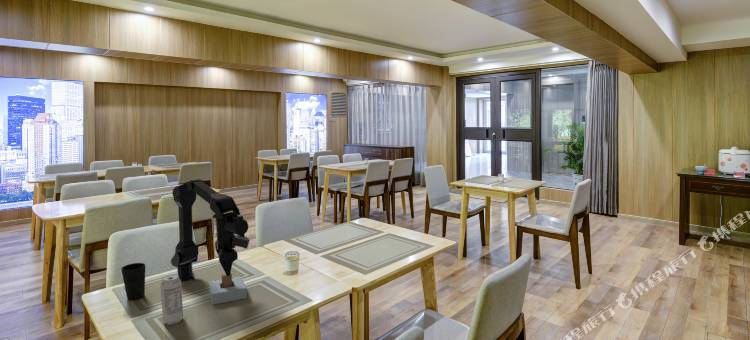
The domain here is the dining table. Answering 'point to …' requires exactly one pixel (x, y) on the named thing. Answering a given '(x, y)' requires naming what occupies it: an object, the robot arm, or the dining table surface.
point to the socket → (227, 291)
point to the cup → (134, 280)
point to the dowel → (226, 280)
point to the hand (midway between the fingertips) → (226, 271)
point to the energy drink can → (171, 299)
